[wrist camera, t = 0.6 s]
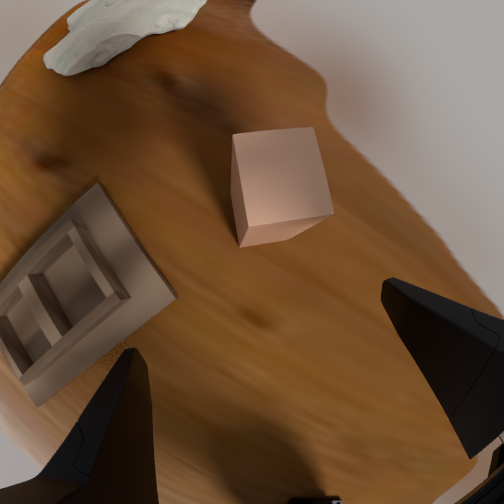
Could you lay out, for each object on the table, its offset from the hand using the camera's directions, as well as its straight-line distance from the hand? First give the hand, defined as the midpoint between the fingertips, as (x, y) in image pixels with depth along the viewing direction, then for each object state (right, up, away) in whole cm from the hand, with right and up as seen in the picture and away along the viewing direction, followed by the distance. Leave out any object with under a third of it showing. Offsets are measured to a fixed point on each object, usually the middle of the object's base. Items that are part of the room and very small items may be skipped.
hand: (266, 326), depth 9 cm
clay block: (0, +5, +14) cm, 15 cm away
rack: (-18, -3, +12) cm, 22 cm away
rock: (-17, +28, +15) cm, 36 cm away
